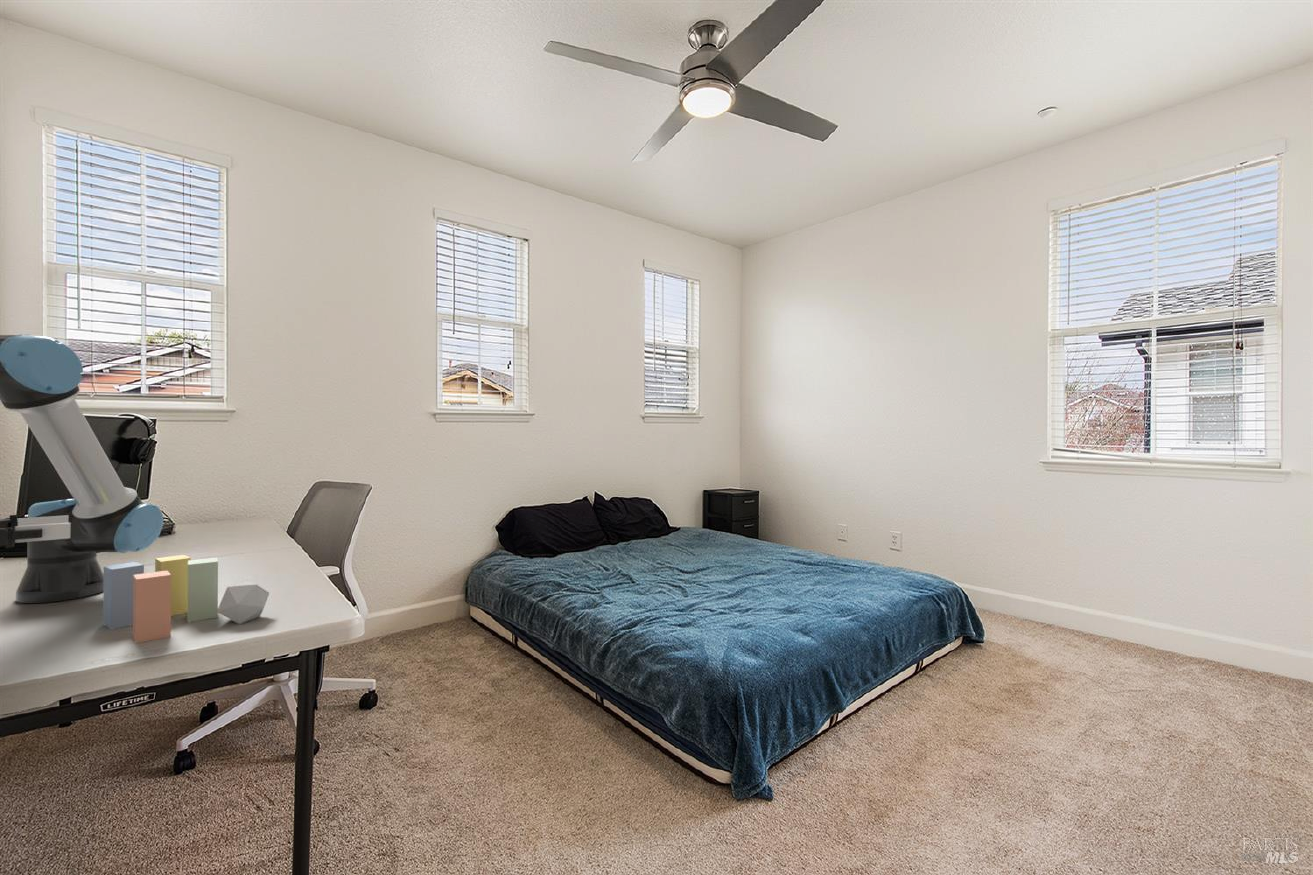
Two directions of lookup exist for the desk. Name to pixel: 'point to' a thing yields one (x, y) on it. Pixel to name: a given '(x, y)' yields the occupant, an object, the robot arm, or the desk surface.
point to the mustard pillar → (176, 580)
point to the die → (243, 602)
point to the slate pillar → (119, 594)
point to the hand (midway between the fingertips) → (69, 526)
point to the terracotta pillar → (151, 606)
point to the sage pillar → (202, 589)
